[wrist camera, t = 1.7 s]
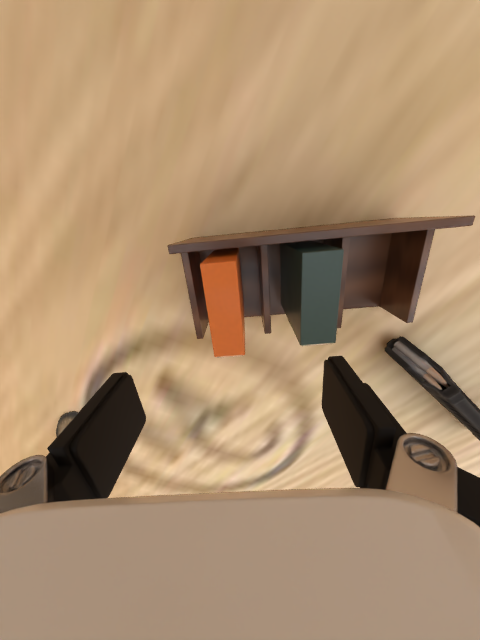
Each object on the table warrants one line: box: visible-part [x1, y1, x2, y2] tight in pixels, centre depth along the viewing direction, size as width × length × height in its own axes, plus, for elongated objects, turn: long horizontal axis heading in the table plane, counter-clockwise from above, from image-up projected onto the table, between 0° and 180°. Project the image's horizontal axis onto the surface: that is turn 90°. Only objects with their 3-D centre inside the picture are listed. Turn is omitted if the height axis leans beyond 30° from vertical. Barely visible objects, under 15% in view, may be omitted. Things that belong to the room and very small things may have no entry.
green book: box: [280, 241, 344, 346], centre depth 26 cm, size 9×4×12 cm, turn 5°
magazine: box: [385, 336, 480, 440], centre depth 35 cm, size 17×3×30 cm
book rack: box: [168, 216, 475, 339], centre depth 27 cm, size 12×27×11 cm, turn 95°
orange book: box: [200, 248, 245, 358], centre depth 26 cm, size 9×3×13 cm, turn 5°
